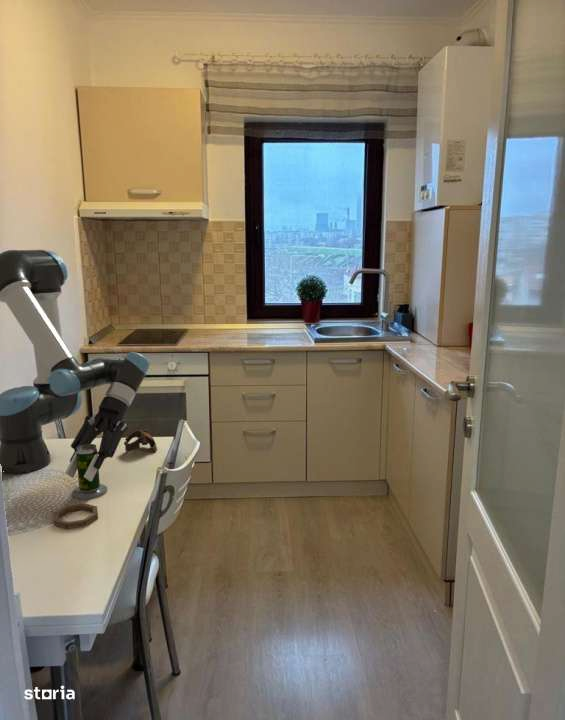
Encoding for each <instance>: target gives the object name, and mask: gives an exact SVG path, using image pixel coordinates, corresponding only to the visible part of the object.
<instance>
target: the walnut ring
mask: <svg viewBox="0 0 565 720" xmlns="http://www.w3.org/2000/svg"><path fill="white" fill-rule="evenodd" d="M78 512H87V513H91V514H90V515H88V516H86V517H85V518H83V519H78V520H73V521H72V520H71V521H66V520H63V519H61V518H62V517H64V516H66V515H68V514H71V513H78ZM98 519H99V512H98V506H96V505H93V504H89V503H79V504H78V503H77V504H71V505H67V506H64V507H62V508H60V509H59V510H57V511H55V512H54V513H53V527H56V528H58V529H61V530H66V531H67V530H68V531H69V530H75V529H80V528H86V527H88V526H90V525H92V524H93V523H95V522H96V521H98Z"/></svg>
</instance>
